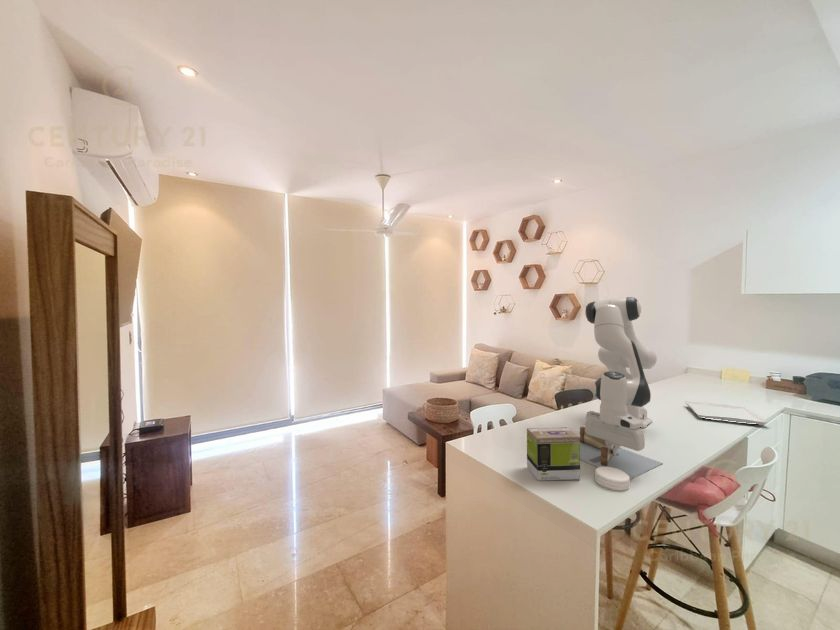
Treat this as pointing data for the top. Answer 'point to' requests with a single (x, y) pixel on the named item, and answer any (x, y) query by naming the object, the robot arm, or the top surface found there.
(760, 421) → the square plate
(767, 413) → the top surface
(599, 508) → the top surface
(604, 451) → the panel
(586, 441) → the fence fixed panel
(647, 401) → the robot arm
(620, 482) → the coaster
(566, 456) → the tea box
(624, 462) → the card
